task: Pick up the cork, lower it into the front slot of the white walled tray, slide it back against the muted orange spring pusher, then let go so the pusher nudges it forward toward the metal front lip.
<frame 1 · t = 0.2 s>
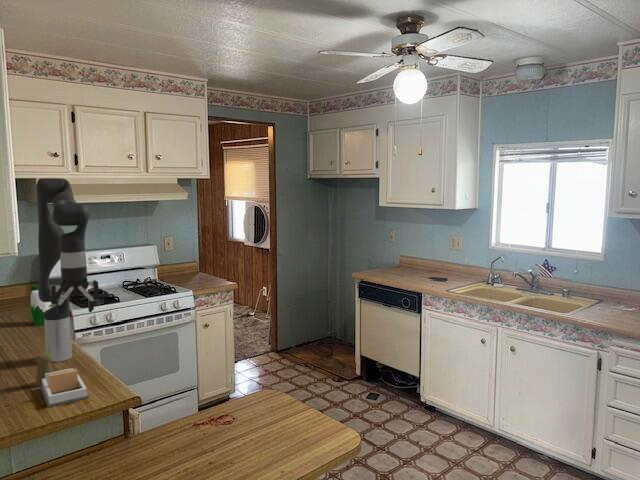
hand: (76, 313, 158), 28 cm above the countertop, tool pointing down, fingers open, 8 cm apart
white walled tray: (64, 393, 164), on the countertop
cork: (45, 383, 172), on the countertop
pusher: (63, 380, 164), point 4 cm above the countertop, slide at 0.0 cm
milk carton: (42, 323, 246), on the countertop
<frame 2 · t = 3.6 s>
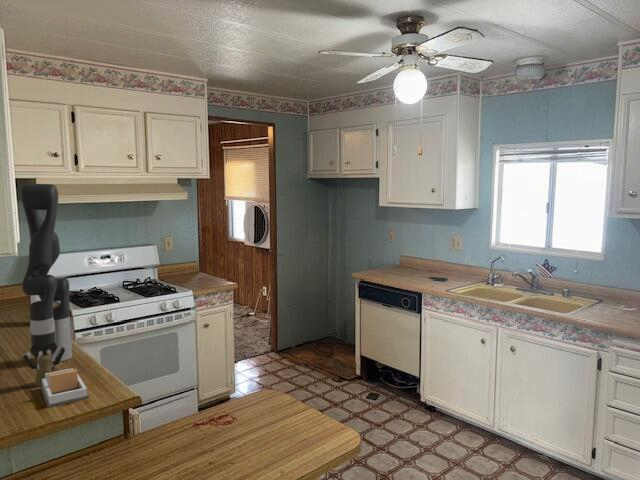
hand: (45, 377, 172), 2 cm above the countertop, tool pointing down, fingers closed on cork, 2 cm apart
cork: (45, 383, 172), on the countertop, touching gripper
everything else where it was.
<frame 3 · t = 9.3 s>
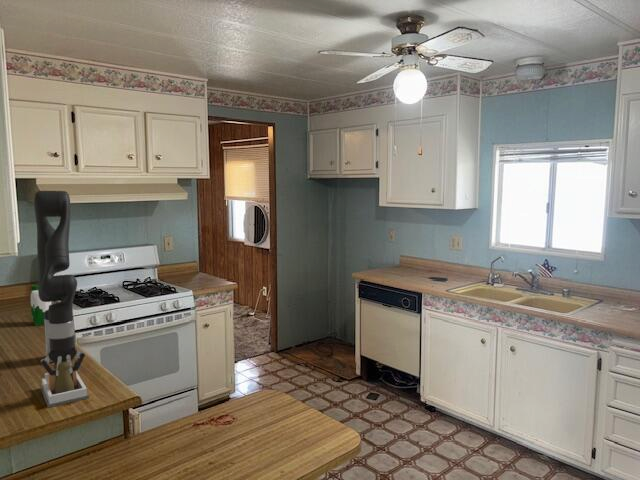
hand: (64, 384, 162), 4 cm above the countertop, tool pointing down, fingers closed on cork, 2 cm apart
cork: (64, 392, 162), point 1 cm above the countertop, touching gripper, pusher
pusher: (62, 378, 166), point 4 cm above the countertop, slide at 2.1 cm, touching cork
everything else where it was.
when the fingers open (4 cm above the countertop, at t = 9.3 s): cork moves 1 cm, resting on white walled tray, pusher.
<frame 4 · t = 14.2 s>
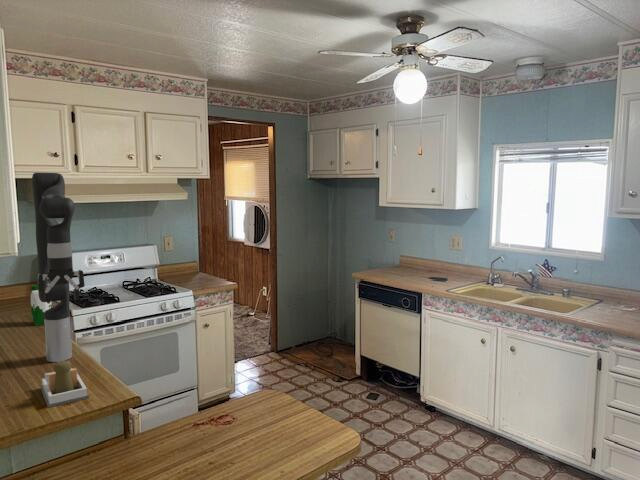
hand: (62, 301, 168), 30 cm above the countertop, tool pointing down, fingers open, 8 cm apart
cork: (64, 394, 161), point 1 cm above the countertop, touching white walled tray, pusher
pusher: (62, 379, 165), point 4 cm above the countertop, slide at 1.2 cm, touching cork
everything else where it was.
at the end: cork 2.2 cm from the target spot, point 0.8 cm above the countertop; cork tilted 0°; the gripper is holding nothing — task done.
